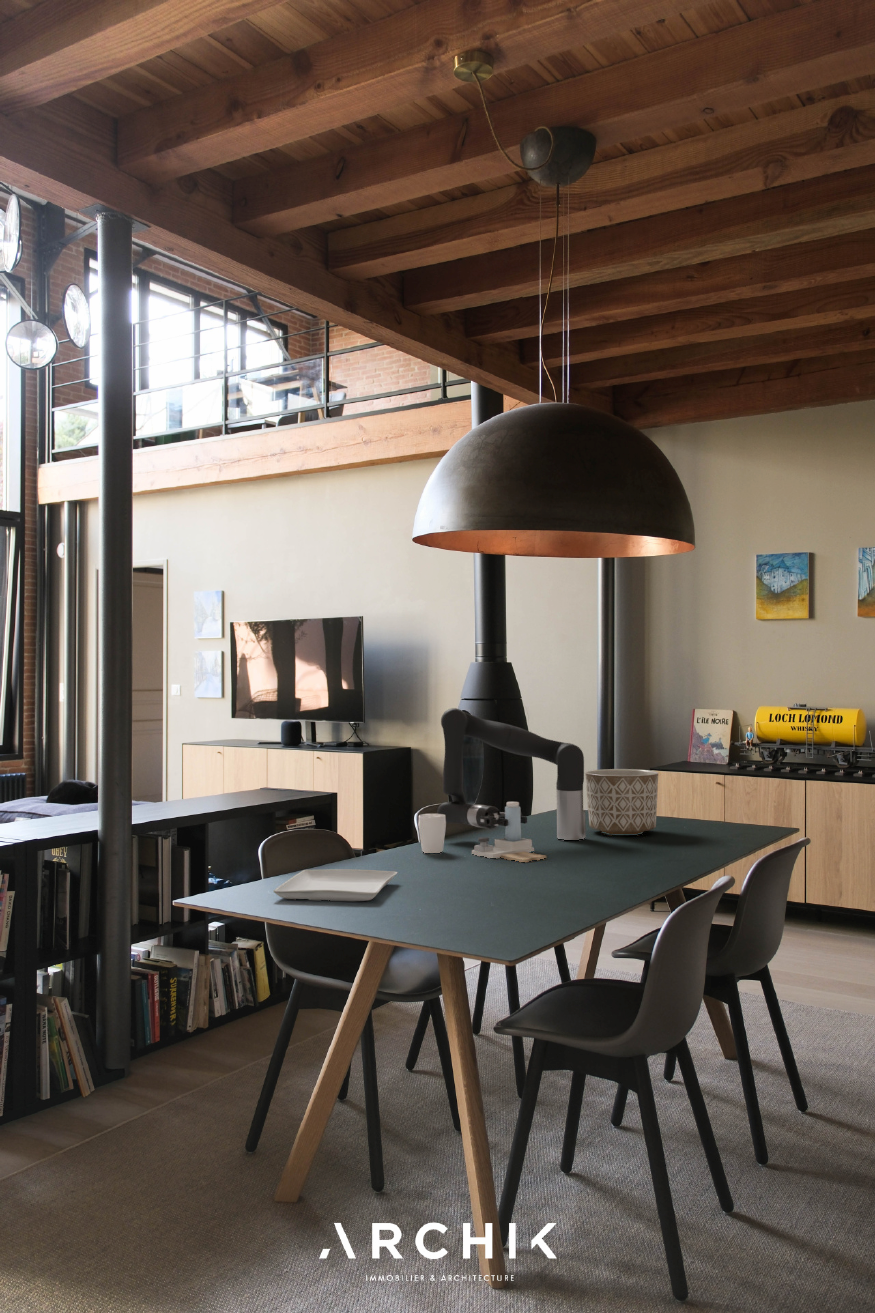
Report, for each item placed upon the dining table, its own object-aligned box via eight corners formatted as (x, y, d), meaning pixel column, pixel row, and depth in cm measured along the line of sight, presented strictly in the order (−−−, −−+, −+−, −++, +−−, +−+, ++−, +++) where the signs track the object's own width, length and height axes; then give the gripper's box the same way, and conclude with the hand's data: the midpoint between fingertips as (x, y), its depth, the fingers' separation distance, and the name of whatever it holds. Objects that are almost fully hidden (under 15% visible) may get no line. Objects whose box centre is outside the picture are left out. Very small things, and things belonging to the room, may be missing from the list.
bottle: (513, 845, 324) (513, 801, 324) (524, 847, 320) (523, 802, 320) (502, 847, 321) (501, 802, 321) (512, 849, 317) (512, 803, 317)
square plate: (303, 881, 278) (303, 868, 278) (398, 884, 274) (398, 870, 274) (272, 903, 251) (272, 888, 251) (377, 906, 247) (377, 890, 247)
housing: (512, 848, 327) (512, 836, 327) (534, 852, 319) (533, 839, 319) (471, 854, 316) (471, 842, 316) (492, 859, 308) (492, 846, 308)
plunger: (484, 849, 317) (484, 836, 317) (491, 850, 315) (491, 838, 315) (476, 850, 315) (476, 838, 315) (483, 851, 313) (483, 839, 313)
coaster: (523, 854, 315) (523, 851, 315) (546, 858, 307) (546, 855, 307) (500, 858, 309) (500, 855, 309) (523, 862, 301) (523, 859, 301)
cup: (444, 855, 316) (443, 817, 316) (416, 854, 317) (415, 817, 317) (448, 850, 325) (447, 813, 325) (421, 849, 326) (420, 813, 326)
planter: (595, 839, 343) (594, 776, 344) (579, 828, 369) (578, 769, 369) (669, 837, 345) (667, 774, 346) (647, 827, 371) (646, 768, 372)
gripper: (467, 807, 327) (500, 811, 315) (499, 803, 336) (532, 807, 324) (467, 829, 327) (500, 835, 314) (499, 825, 336) (533, 830, 323)
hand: (516, 821), depth 319 cm, fingers open, 8 cm apart
